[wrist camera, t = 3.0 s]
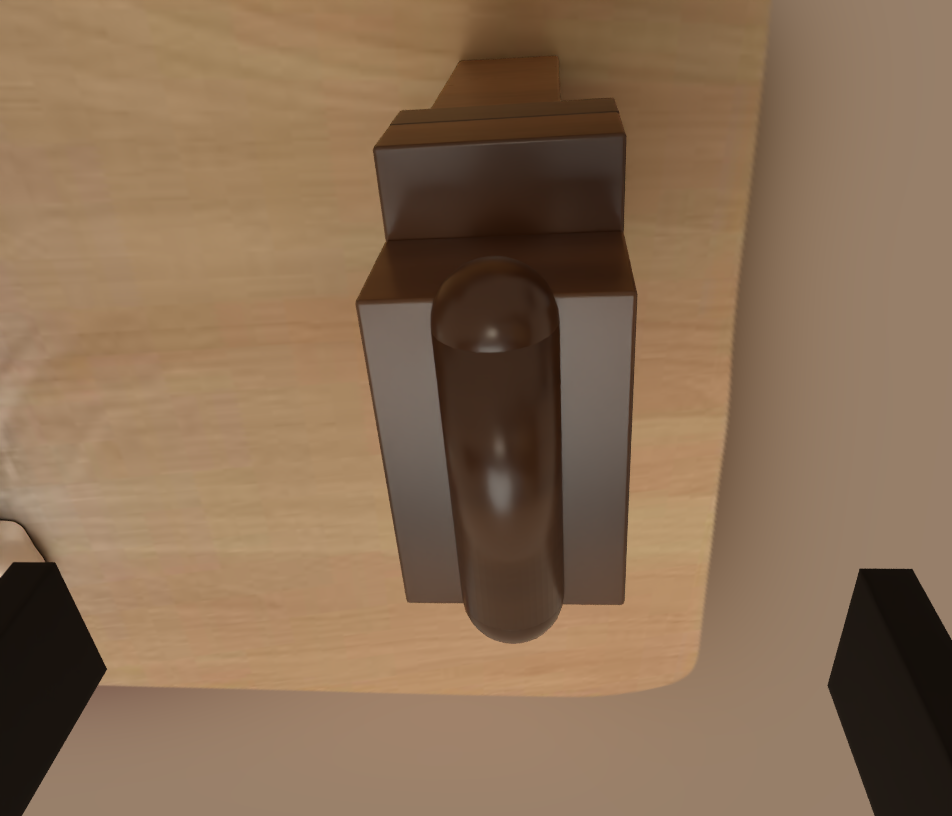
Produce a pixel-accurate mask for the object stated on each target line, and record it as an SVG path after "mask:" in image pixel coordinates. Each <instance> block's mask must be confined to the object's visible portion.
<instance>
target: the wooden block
mask: <svg viewBox="0 0 952 816" xmlns="http://www.w3.org/2000/svg"><path fill="white" fill-rule="evenodd" d="M552 101H560V82H559V59H558V56H556V55H555V56H538V57H521V58H503V59H486V60H469V61H460V62H459V63H458V65H457V66H456V68H455V70H454V71H453V73H452V75H451V76H450V78H449V80H448V81H447V83H446V85H445V86H444V88H443V89H442V91H441V93H440V94H439V96H438V98H437V99H436V101H435V103H434V104H433V106H432V108H431V109H436V108H453V107H469V106H486V105H502V104H519V103H535V102H552Z"/></svg>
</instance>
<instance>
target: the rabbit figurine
mask: <svg viewBox="0 0 952 816" xmlns="http://www.w3.org/2000/svg"><path fill="white" fill-rule="evenodd" d="M13 562H45V560H44V559H43V557H42V556H41V554H40V553H39V552H38V550H37V549H36V548H35V546H34V545H33V543H32V541H31V540H30V538H29V536H28V535H27V533H26V531H25V530H24V529H23V527H21V526H20V525H19V524H17V523H15V522H12V521H0V577H1V576H2V575H3V574H4V573H5V571H6V570H7V569H8V568H9V566H10V565H11V564H12V563H13Z"/></svg>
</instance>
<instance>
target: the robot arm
mask: <svg viewBox="0 0 952 816" xmlns="http://www.w3.org/2000/svg"><path fill="white" fill-rule="evenodd" d="M106 670H107V668H106V666H105V664H104V662H103V660H102V658H101V656H100V654H99V652H98V650H97V648H96V646H95V644H94V641H93V639H92V637H91V635H90V633H89V631H88V629H87V627H86V625H85V623H84V621H83V619H82V617H81V615H80V613H79V611H78V608H77V606H76V604H75V602H74V600H73V598H72V596H71V594H70V592H69V590H68V588H67V586H66V584H65V582H64V580H63V578H62V576H61V573H60V571H59V569H58V567H57V565H56V563H55V562H13V563H12V564H11V565H10V566H9V568H8V569H7V570H6V571H5V573H4V574H3V575H2V576H1V577H0V816H22V814H23V813H24V811H25V809H26V808H27V806H28V804H29V802H30V801H31V799H32V797H33V796H34V794H35V792H36V790H37V789H38V787H39V785H40V784H41V782H42V780H43V778H44V777H45V775H46V773H47V771H48V770H49V768H50V766H51V765H52V763H53V761H54V759H55V758H56V756H57V754H58V752H59V751H60V749H61V747H62V746H63V744H64V742H65V741H66V739H67V737H68V735H69V734H70V732H71V730H72V729H73V727H74V725H75V723H76V722H77V720H78V718H79V717H80V715H81V713H82V711H83V710H84V708H85V706H86V705H87V703H88V701H89V699H90V698H91V696H92V694H93V692H94V691H95V689H96V687H97V686H98V684H99V682H100V680H101V679H102V677H103V675H104V674H105V672H106ZM828 688H829V690H830V694H831V696H832V699H833V701H834V704H835V707H836V710H837V713H838V716H839V718H840V721H841V724H842V727H843V729H844V732H845V735H846V738H847V740H848V743H849V746H850V749H851V752H852V754H853V757H854V760H855V763H856V765H857V768H858V771H859V774H860V776H861V779H862V782H863V785H864V787H865V790H866V793H867V796H868V799H869V801H870V804H871V807H872V810H873V812H874V815H875V816H952V640H951V638H950V636H949V634H948V633H947V631H946V629H945V627H944V625H943V624H942V622H941V620H940V618H939V616H938V615H937V613H936V611H935V609H934V607H933V606H932V604H931V602H930V600H929V598H928V597H927V595H926V593H925V591H924V589H923V588H922V586H921V584H920V582H919V580H918V578H917V577H916V575H915V573H914V571H913V569H859V573H858V577H857V580H856V584H855V588H854V591H853V595H852V599H851V603H850V606H849V609H848V613H847V617H846V620H845V624H844V628H843V631H842V635H841V638H840V642H839V646H838V650H837V653H836V657H835V660H834V664H833V667H832V671H831V675H830V678H829V682H828Z"/></svg>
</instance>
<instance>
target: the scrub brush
mask: <svg viewBox="0 0 952 816" xmlns="http://www.w3.org/2000/svg"><path fill="white" fill-rule="evenodd" d="M373 154H374V161H375V168H376V175H377V182H378V189H379V196H380V203H381V210H382V217H383V224H384V231H385V238H386V242H385V244H384V246H383V248H382V250H381V252H380V254H379V256H378V258H377V260H376V262H375V264H374V266H373V268H372V270H371V272H370V274H369V276H368V278H367V280H366V282H365V284H364V286H363V288H362V290H361V292H360V294H359V296H358V298H357V300H356V310H357V315H358V321H359V327H360V333H361V339H362V344H363V350H364V356H365V362H366V368H367V373H368V379H369V385H370V391H371V397H372V402H373V408H374V414H375V420H376V426H377V431H378V437H379V443H380V449H381V455H382V460H383V466H384V472H385V478H386V484H387V489H388V495H389V501H390V507H391V513H392V518H393V524H394V530H395V536H396V542H397V547H398V553H399V559H400V565H401V571H402V576H403V582H404V588H405V594H406V599H407V602H409V603H464V607H465V610H466V613H467V614H468V616H469V618H470V620H471V621H472V623H473V624H474V625H475V626H476V628H477V629H478V630H480V631H481V632H482V633H483V634H485V635H486V636H487V637H489V638H491V639H493V640H496V641H499V642H503V643H511V644H516V643H523V642H528V641H531V640H533V639H536V638H538V637H539V636H541V635H542V634H544V633H545V632H546V631H547V630H548V629H549V628H550V627H551V626H552V625H553V624H554V622H555V621H556V619H557V618H558V615H559V613H560V611H561V608H562V605H563V604H581V605H622V604H623V603H624V600H625V577H626V553H627V529H628V505H629V481H630V457H631V433H632V409H633V385H634V361H635V338H636V314H637V291H636V286H635V282H634V277H633V273H632V268H631V264H630V259H629V255H628V250H627V246H626V241H625V237H624V233H623V232H624V199H625V165H626V134H625V131H624V127H623V124H622V121H621V118H620V115H619V111H618V108H617V105H616V102H615V99H614V98H601V99H585V100H568V101H552V102H535V103H519V104H502V105H486V106H469V107H453V108H436V109H420V110H403V111H400V112H399V113H398V115H397V116H396V117H395V119H394V120H393V121H392V123H391V124H390V126H389V128H388V129H387V130H386V132H385V133H384V134H383V136H382V137H381V138H380V140H379V141H378V142H377V144H376V145H375V146H374V148H373Z"/></svg>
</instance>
